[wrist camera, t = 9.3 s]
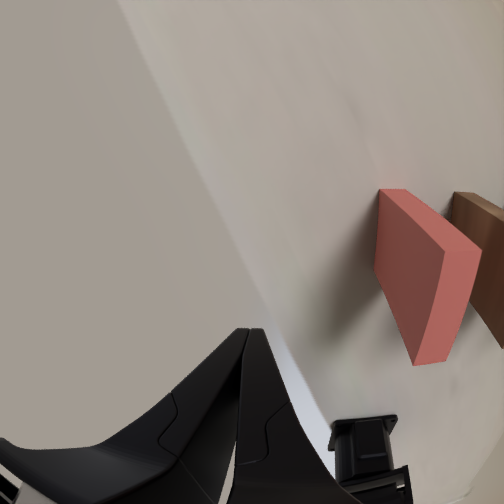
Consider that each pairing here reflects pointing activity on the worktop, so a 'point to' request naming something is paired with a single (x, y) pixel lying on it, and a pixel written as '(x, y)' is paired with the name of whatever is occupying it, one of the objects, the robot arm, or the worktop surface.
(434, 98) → the worktop surface
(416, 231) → the domino
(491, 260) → the domino
